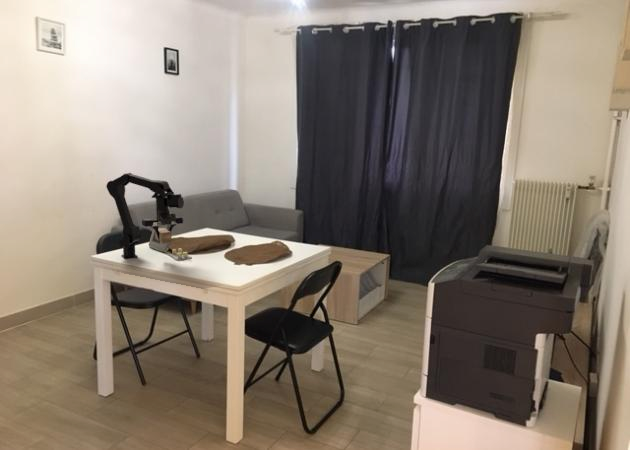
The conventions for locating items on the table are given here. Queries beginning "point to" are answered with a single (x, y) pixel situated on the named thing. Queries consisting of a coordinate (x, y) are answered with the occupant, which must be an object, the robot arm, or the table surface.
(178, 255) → the peg stand
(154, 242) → the digital clock
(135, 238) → the robot arm
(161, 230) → the tan rectangular block
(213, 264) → the table surface
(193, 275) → the table surface
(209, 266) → the table surface
